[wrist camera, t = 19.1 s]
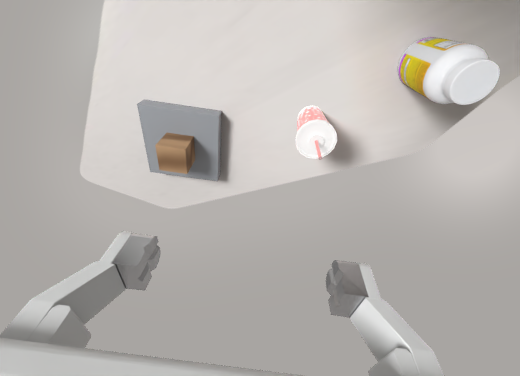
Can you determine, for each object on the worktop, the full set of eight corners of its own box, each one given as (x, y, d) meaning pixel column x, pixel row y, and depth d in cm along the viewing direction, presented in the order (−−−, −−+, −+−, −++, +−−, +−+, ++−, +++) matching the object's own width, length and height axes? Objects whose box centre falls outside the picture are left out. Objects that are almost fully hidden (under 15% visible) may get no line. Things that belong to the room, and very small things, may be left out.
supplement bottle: (409, 94, 39) (455, 125, 29) (387, 63, 37) (427, 86, 26) (453, 59, 36) (521, 81, 26) (431, 24, 33) (497, 32, 23)
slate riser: (143, 99, 43) (137, 104, 41) (221, 110, 43) (218, 116, 41) (155, 165, 51) (150, 171, 49) (220, 174, 52) (217, 181, 50)
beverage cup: (325, 134, 44) (340, 177, 33) (292, 134, 45) (295, 177, 34) (330, 100, 41) (348, 136, 29) (293, 101, 41) (298, 136, 30)
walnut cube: (166, 132, 44) (155, 145, 40) (193, 136, 44) (185, 149, 40) (169, 156, 47) (159, 170, 43) (195, 159, 47) (187, 174, 43)
